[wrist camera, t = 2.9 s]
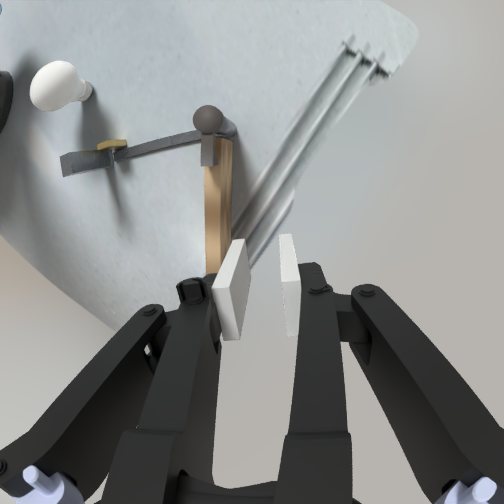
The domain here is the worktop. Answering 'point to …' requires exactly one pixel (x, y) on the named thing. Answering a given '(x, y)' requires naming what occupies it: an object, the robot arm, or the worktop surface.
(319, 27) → the worktop surface
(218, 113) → the gate
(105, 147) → the gate frame
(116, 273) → the worktop surface
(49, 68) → the light bulb
